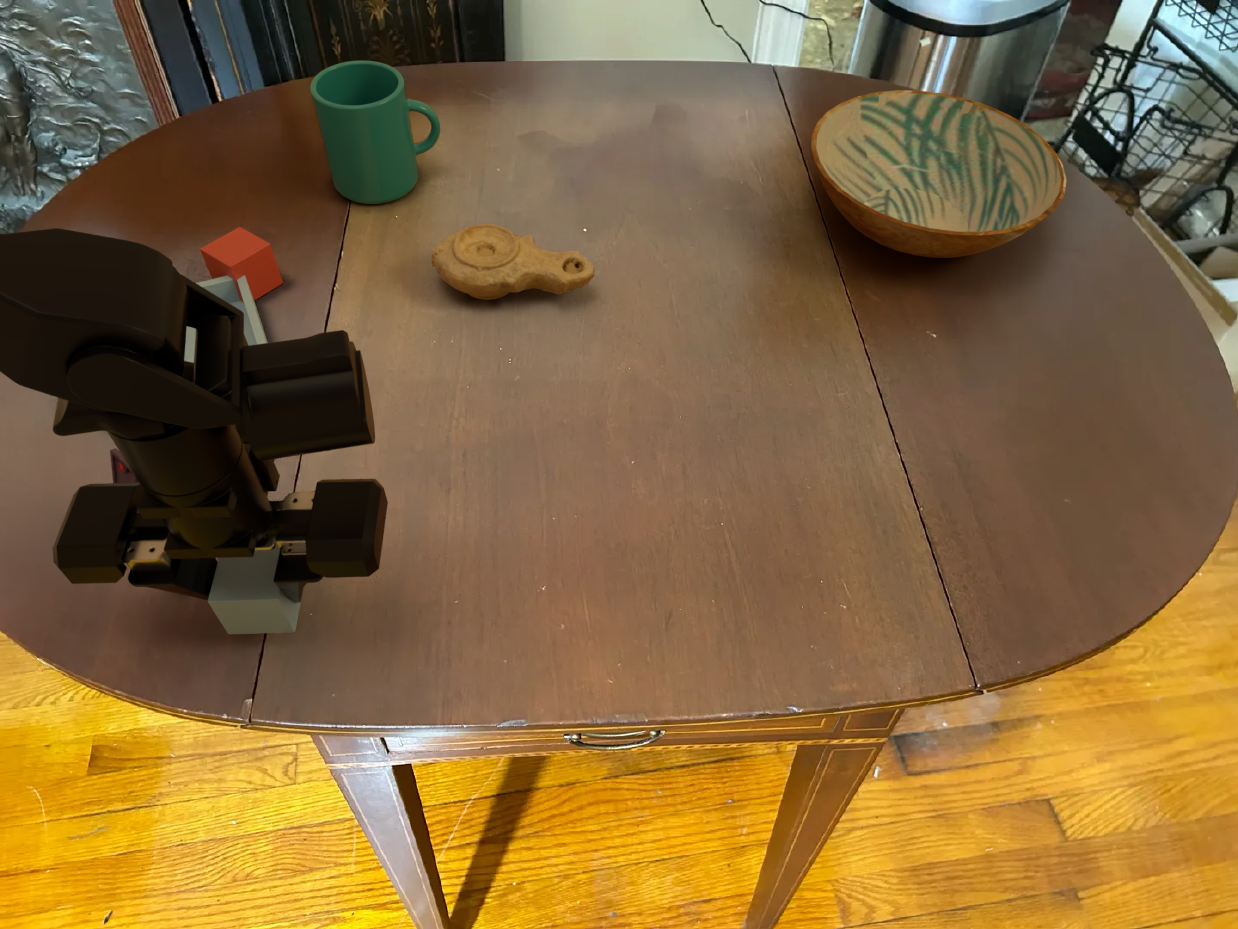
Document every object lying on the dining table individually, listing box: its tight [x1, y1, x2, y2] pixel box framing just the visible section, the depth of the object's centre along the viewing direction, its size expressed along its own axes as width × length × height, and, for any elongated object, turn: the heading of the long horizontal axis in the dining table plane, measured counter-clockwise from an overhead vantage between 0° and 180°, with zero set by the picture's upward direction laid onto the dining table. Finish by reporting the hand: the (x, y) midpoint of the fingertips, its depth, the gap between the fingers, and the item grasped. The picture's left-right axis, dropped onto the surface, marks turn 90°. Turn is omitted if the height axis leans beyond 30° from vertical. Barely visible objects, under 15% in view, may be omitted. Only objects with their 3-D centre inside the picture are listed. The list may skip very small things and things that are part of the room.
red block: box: [199, 226, 284, 302], centre depth 85 cm, size 4×4×4 cm
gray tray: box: [184, 275, 269, 363], centre depth 80 cm, size 14×12×3 cm
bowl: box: [810, 89, 1068, 259], centre depth 94 cm, size 25×25×8 cm
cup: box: [309, 60, 441, 205], centre depth 94 cm, size 9×12×11 cm
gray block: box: [207, 543, 302, 635], centre depth 62 cm, size 4×4×4 cm
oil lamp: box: [431, 223, 596, 301], centre depth 87 cm, size 11×14×5 cm
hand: (264, 597), depth 63 cm, fingers closed on gray block, 4 cm apart
